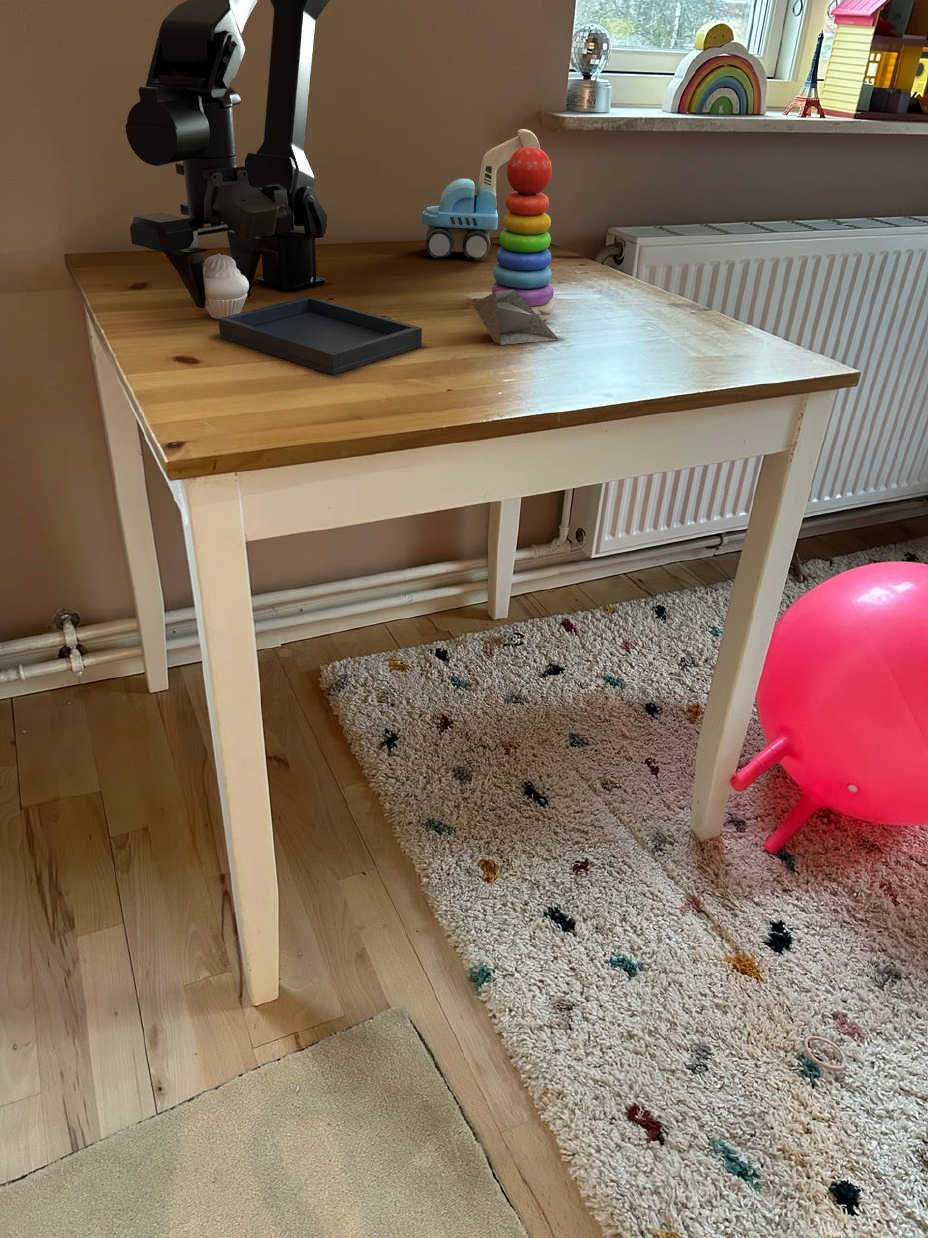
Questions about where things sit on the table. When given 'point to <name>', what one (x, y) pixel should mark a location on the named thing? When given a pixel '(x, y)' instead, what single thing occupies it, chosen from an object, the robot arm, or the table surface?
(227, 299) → the muffin
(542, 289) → the stacking toy
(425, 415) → the table surface
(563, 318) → the table surface
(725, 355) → the table surface
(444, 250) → the toy excavator
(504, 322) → the paper boat
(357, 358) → the tray
